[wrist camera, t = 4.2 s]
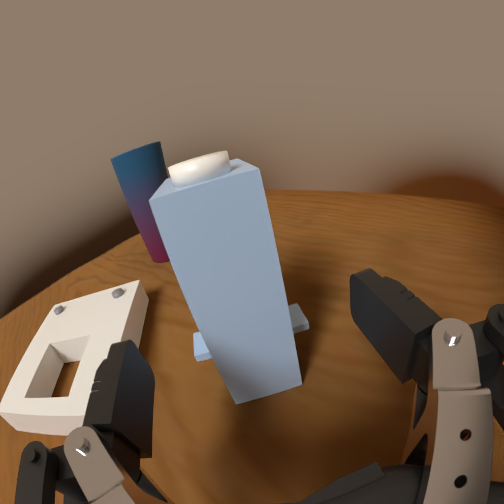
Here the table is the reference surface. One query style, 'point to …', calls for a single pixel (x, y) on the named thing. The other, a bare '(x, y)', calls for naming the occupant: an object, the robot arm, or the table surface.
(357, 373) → the table surface
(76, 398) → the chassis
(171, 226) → the block
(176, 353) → the table surface
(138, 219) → the cup
